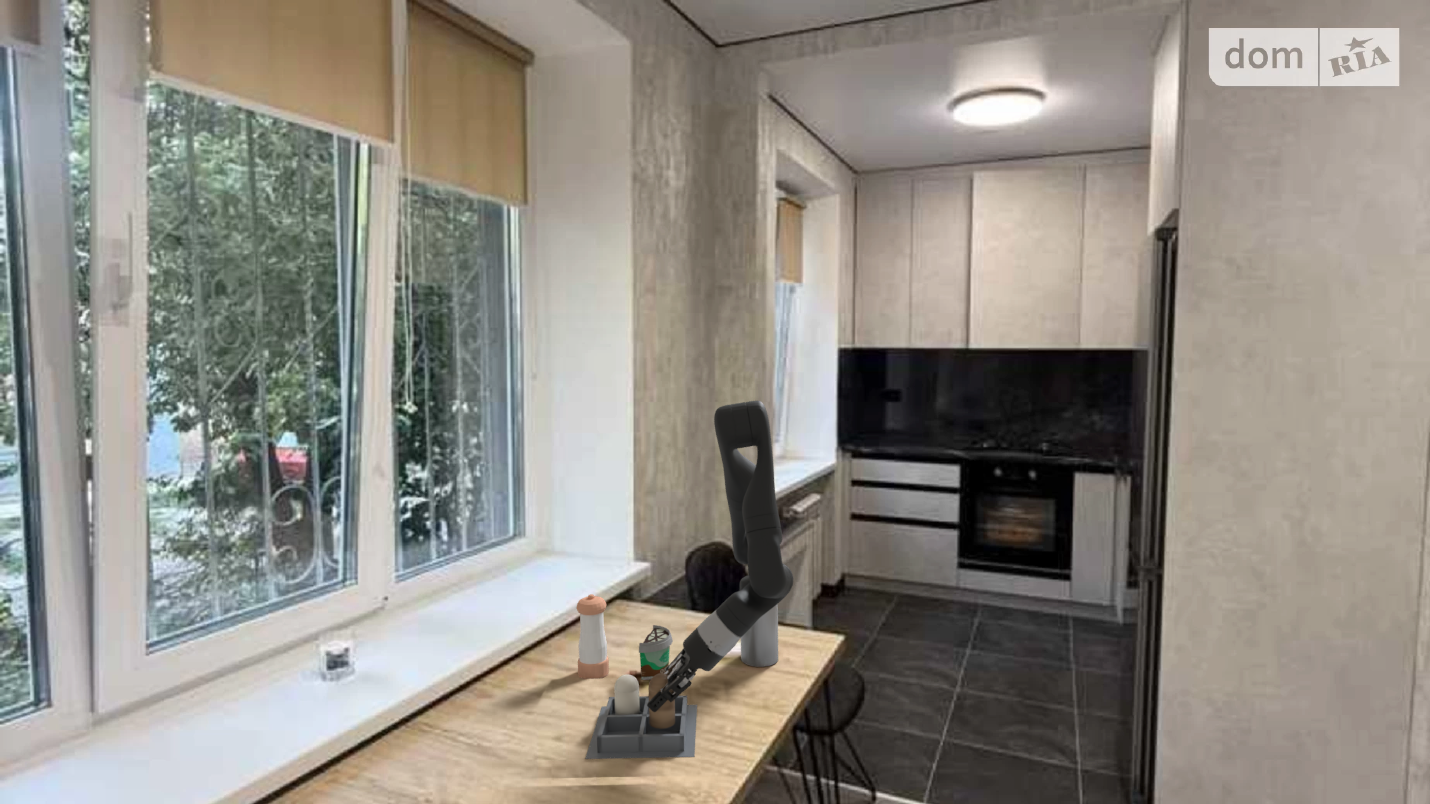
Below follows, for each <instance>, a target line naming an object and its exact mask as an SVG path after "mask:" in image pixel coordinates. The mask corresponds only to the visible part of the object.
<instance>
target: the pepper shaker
mask: <svg viewBox="0 0 1430 804" xmlns="http://www.w3.org/2000/svg"><path fill="white" fill-rule="evenodd" d="M575 608H576V610H577V612H578V613H579V616H580V617H579V618H580V621H579V624H580V625H579V626H580V630H579V631H580V633H579V641H578V661H577V676H578V677H579V678H580V679H583V680H589V679H590V680H594V679H595V680H596V679H597V680H599V679H603V678H605V677H606V676H608V675H609V673H610V665H609V664H610V662H609V661H610V660H609V658H610V657H609V656H608V643H607V638H606V632H605V626H604V624H605V622H604V612H605V611H606V608H607V602H606V601H605V599H604V598H603V597H601V596H596V595H595V594H588V596H585V597H582V598H581V599H579V600H578V602H577V604H576V607H575Z"/></svg>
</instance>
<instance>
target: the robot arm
mask: <svg viewBox="0 0 1430 804" xmlns="http://www.w3.org/2000/svg"><path fill="white" fill-rule="evenodd" d="M713 422H714V423H713V425H714V431H715V432H714V433H715V437H716V440H717V444H718V449H719V453H720V458H721V462H722V467H723V469H722V470H723V476H724V477H723V478H724V487H725V494H726V495H725V496H726V499H727V500H726V501H727V505H728V510H729V516H730V520H731V521H730V522H731V523H730V524H731V538H732V539H731V541H732V551H733V555H734V559H735V560H736V562H738V563H739V564H741V565H742V564H743V565H747V573H748V575H745V576H744V577H742V578H741V579H740V581H739V590H738V591H735V592H733V593H732V594H731V595H730V596H728V598H726V599H725V600H724V602H722V603H721V604H720V605H719V607H718V608H716V609H715V610H714V611H713V612H712V613H711V614H709V615H708V616H707V617H706V618H705V619H704V620H703V621H702V622H701V623H700V624H699V625H698V626H697V627H696V628H695V629H694V630H693V631H692V632H691V633H690V634H689V635H688V636H687V637H686V638H685V639H684V641H683V642H682V647H683V648H682V649H681V651H680V652H679V653H678V654H677V655H676V657H674V659H673V660H672V661H671V662H669V666H668V667H666V669H665V671H666V672H665V673H664V674H667V675H669V676H668V677H667V682H666V683H665V685H664V686H663V687H662V688H661V689H660V691H659V692H658V693H657V694H656V695H655V696H654V697H653V698H652V699H651V700H650V701H649V702H648V704H647V706H648V708H650V709H651V710H652V711H653V712H656V711H657V710H658V709H659V708H660V707H661V706H662V705H663V704H664V703H665V702H666V701H667V700H669V701H670V702H672V701H673V700H674V699H676V698H677V697H678V696H681V695H682V693H683V692H686V690H687V689H688V688H689V687H691V685H692V683H693V682H692V680H693V679H694V678H695V676H696V674H697V673H696V672H697V671H698V670H699V669H700V670H702V671H705V672H710V671H712V670H713V668H715V667H716V666H717V665H718V663H720V661H721V660H722V659H724V658H725V657H726V655H728V653H729V652H730V651H732V649H733V648H734V647H735V646H736V645H737V643H738V642H739V640H740V660H741V662H742V663H743V664H745V665H747V666H752V667H769V666H773V665H775V664H776V663H777V662H779V617H778V616H779V610H778V607H779V606H778V605H779V603H780V602H782V601H783V599H785V598H786V596H787V595H789V593H790V592H791V590H792V588H793V585H794V574H793V572H792V570H791V569H790V567H789V566H788V565H786V564H785V563H784V562H783V560H782V559H783V558H782V552H781V544H782V542H783V532H782V525H781V522H780V516H779V511H778V505H777V503H778V502H777V497H776V484H775V470H774V469H775V468H774V457H773V456H774V454H773V446H772V445H773V443H772V436H771V426H770V420H769V415H768V412H767V409H766V406H765V404H764V403H763V402H762V401H761V400H751V401H750V400H749V401H744V402H738V403H731V404H725V405H722V406H719V407H718V408H717V409H716V410H715V412H714V416H713ZM751 447H756V448H757V449H756V450H757V456H756V457H757V459H756V464H755V463H754V462H753V461H751V460H750V459H749V458H748V457H746V456H744V454H742V453H741V452H740V451H739V450H738V449H743V448H751ZM670 689H672V690H673V691H672V692H671V693H670V692H669V690H670Z"/></svg>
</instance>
